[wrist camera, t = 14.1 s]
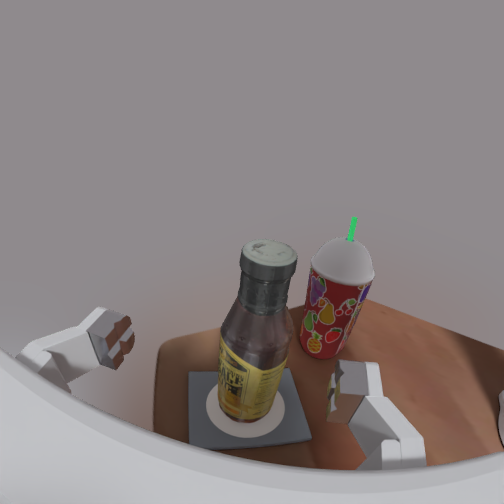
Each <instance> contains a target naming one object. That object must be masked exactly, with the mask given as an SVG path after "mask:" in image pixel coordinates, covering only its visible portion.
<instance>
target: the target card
mask: <svg viewBox="0 0 504 504" xmlns="http://www.w3.org/2000/svg"><path fill="white" fill-rule="evenodd" d="M217 394H218V372H189V386H188V404H189V444H190V445H193V446H197V447H200V448H204V449H208V450H220V449H241V448H254V447H265V446H274V445H282V444H289V443H296V442H302V441H308V440H311V439H312V436H311V433H310V430H309V427H308V424H307V421H306V417H305V414H304V411H303V408H302V405H301V402H300V399H299V396H298V393H297V390H296V387H295V384H294V381H293V378H292V375H291V371H290V368H284V370H283V373H282V377H281V380H280V383H279V386H278V389H277V393H276V396H275V399H274V402H273V405H272V407H271V410H270V411H269V412H268V414H266V415H265V416H264V417H263V418H262V419H260V420H258V421H256V422H254V423H242V422H236V421H233V420H231V419H230V418H229V417H227V416H226V415H225V414H224V413H223V411H222V410H221V409H220V406H219V401H218V395H217Z"/></svg>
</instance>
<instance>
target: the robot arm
mask: <svg viewBox="0 0 504 504" xmlns="http://www.w3.org/2000/svg"><path fill="white" fill-rule="evenodd" d="M131 324H132V323H131V320H130V317H128V316H127V315H124V314H121V313H118V312H114V311H112V310H108V309H106V308H103V307H97V308H96V309H95V310H94V311H93V312H92V313H91V314H90V315H89V316H88V317H87V318H85V319H84V320H83V322H82V323H81V324H79V325H78V327H71V328H69V329H66V330H63V331H60V332H57V333H54V334H52V335H48V336H45V337H43V338H40V339H37V340H34V341H31V342H30V343H29V344H28V345H27V346H26V347H25V348H24V349H23V350H22V351H21V352H20V353H19V354H18V355H17V356H16V357H15V358H14V357H13V356H12V355H10V354H9V353H8V352H6V351H5V350H4V349H2V348H1V347H0V504H504V452H496V453H492V454H489V455H485V456H481V457H477V458H472V459H468V460H463V461H458V462H453V463H447V464H441V465H434V466H427V465H426V456H425V449H424V442H423V437H422V436H421V435H420V434H419V433H418V432H417V430H416V429H415V428H414V427H413V426H412V425H411V424H410V422H409V421H408V420H407V419H406V418H405V417H404V416H403V415H402V413H401V412H400V411H399V410H398V409H397V408H396V407H395V405H394V404H393V403H392V402H391V401H390V400H389V399H388V398H387V397H383V391H382V384H381V377H380V370H379V365H378V363H373V362H360V361H350V360H340V359H338V360H337V362H336V365H335V373H333V374H332V375H331V378H330V381H329V385H328V391H327V398H328V400H329V403H328V405H327V409H326V422H334V423H344V424H348V426H349V428H350V430H351V431H352V433H353V435H354V437H355V438H356V440H357V442H358V443H359V445H360V447H361V448H362V450H363V452H364V453H365V455H366V457H367V459H366V460H365V461H364V462H363V463H362V464H361V465H360V466H359V467H358V468H357V469H356V470H329V469H315V468H304V467H295V466H287V465H280V464H273V463H267V462H261V461H255V460H250V459H245V458H240V457H236V456H231V455H227V454H223V453H219V452H215V451H211V450H208V449H204V448H200V447H197V446H193V445H190V444H187V443H184V442H181V441H177V440H174V439H171V438H169V437H166V436H163V435H160V434H157V433H155V432H152V431H149V430H147V429H144V428H142V427H139V426H137V425H134V424H132V423H129V422H127V421H125V420H122V419H120V418H118V417H116V416H113V415H111V414H109V413H107V412H105V411H103V410H101V409H98V408H97V407H95V406H93V405H91V404H88V403H87V402H85V401H83V400H81V399H79V398H77V397H76V396H74V395H72V394H71V390H70V389H69V387H68V385H67V383H68V382H70V381H72V380H74V379H76V378H78V377H80V376H81V375H83V374H85V373H87V372H89V371H90V370H92V369H94V368H96V367H98V366H99V365H103V366H106V367H109V368H111V369H114V370H117V369H118V367H119V366H120V364H121V363H122V362H123V360H124V356H123V355H125V354H128V353H129V352H130V351H131V349H132V348H133V345H134V340H135V338H134V337H135V336H134V332H133V331H132V329H131V328H130V325H131ZM499 402H500V414H499V432H500V436H501V439H502V442H503V444H504V390H503V391H502V392H501V393H500V394H499Z"/></svg>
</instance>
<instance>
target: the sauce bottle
mask: <svg viewBox="0 0 504 504" xmlns="http://www.w3.org/2000/svg"><path fill="white" fill-rule="evenodd" d="M296 264H297V253H296V251H295V250H293V249H292V248H291V247H290V246H289V245H287V244H284V243H282V242H278V241H274V240H268V239H259V240H254V241H250V242H248V243H247V244H246V245H245V246H243V248H242V252H241V258H240V267H241V270H242V272H241V278H240V280H241V281H240V288H239V291H238V296H237V298H236V300H235V302H234V304H233V306H232V308H231V309H230V311H229V313H228V315H227V317H226V319H225V321H224V322H223V324H222V326H221V331H220V348H219V367H218V394H217V395H218V401H219V406H220V409H221V410H222V411H223V413H224V414H225V415H226V416H227V417H229V418H230V419H231V420H233V421H236V422H242V423H254V422H256V421H258V420H260V419H262V418H263V417H264V416H265V415H266V414H268V412H269V411H270V410H271V407H272V405H273V402H274V399H275V396H276V393H277V389H278V386H279V383H280V380H281V377H282V373H283V370H284V367H285V363H286V360H287V357H288V353H289V344H290V342H291V339H292V335H293V322H292V318H291V315H290V313H289V311H288V307H287V306H286V303H287V298H288V295H287V293H288V289H289V284H290V279H291V277H292V275H293V274H294V273H295V270H296Z"/></svg>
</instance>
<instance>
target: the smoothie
mask: <svg viewBox="0 0 504 504" xmlns="http://www.w3.org/2000/svg"><path fill="white" fill-rule="evenodd" d="M356 222H357V218H356V217H352V221H351V225H350V230H349V234H348V237H338V238H334V239H331V240H330V241H328V242H327V243H325V244H324V245H323V246H322V247H321V248H320V249H319V250H318V252H317V253H316V254H315V255H313V257H312V258H311V268H310V274H309V281H308V289H307V295H306V301H305V307H304V314H303V320H302V326H301V331H300V342H301V343H302V348H303V349H304V351H305V352H306V353H307V354H309V355H310V356H312V357H314V358H319V359H329V358H332V357H334V356H335V355H336V354H337V353H339V352H340V351H342V349H343V347H344V345H345V343H346V341H347V339H348V337H349V335H350V333H351V330H352V328H353V326H354V324H355V322H356V319H357V317H358V315H359V312H360V310H361V308H362V305H363V303H364V301H365V298H366V295H367V293H368V291H369V288H370V286H371V283H372V280H373V279H374V277H375V270H374V269H373V264H372V258H371V256H370V254H369V252H368V250H367V249H366V247H364V245H363V244H361V243H360V242H359V241H357V240H355V239H353V236H354V231H355V227H356Z"/></svg>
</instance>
